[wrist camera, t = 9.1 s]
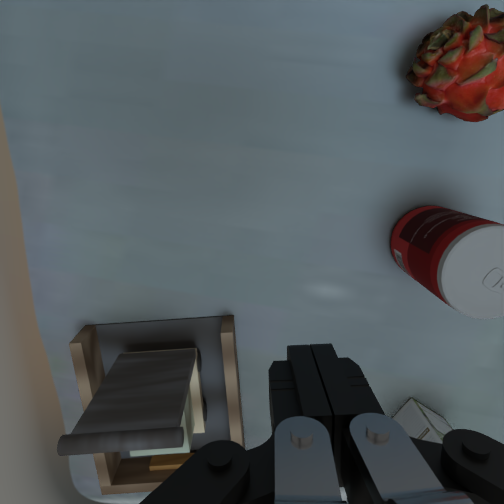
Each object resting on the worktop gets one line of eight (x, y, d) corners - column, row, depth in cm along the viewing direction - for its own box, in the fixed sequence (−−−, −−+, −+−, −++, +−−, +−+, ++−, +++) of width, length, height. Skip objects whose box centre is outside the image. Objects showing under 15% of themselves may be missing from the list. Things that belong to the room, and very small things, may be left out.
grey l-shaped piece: (120, 342, 41) (55, 444, 27) (201, 337, 41) (179, 435, 27) (134, 423, 44) (83, 554, 30) (210, 418, 44) (195, 546, 30)
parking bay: (85, 325, 41) (68, 343, 37) (233, 315, 41) (232, 332, 37) (113, 465, 46) (102, 494, 42) (245, 456, 46) (245, 484, 42)
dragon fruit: (379, 65, 36) (486, 77, 38) (394, 138, 33) (510, 147, 35) (434, -26, 28) (565, -4, 30) (461, 59, 25) (604, 77, 27)
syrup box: (380, 429, 46) (440, 553, 32) (411, 394, 44) (488, 507, 30) (415, 450, 47) (489, 579, 33) (447, 416, 45) (538, 536, 31)
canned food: (440, 285, 41) (509, 332, 30) (375, 260, 40) (422, 301, 29) (475, 220, 39) (562, 246, 28) (407, 193, 38) (471, 210, 27)
